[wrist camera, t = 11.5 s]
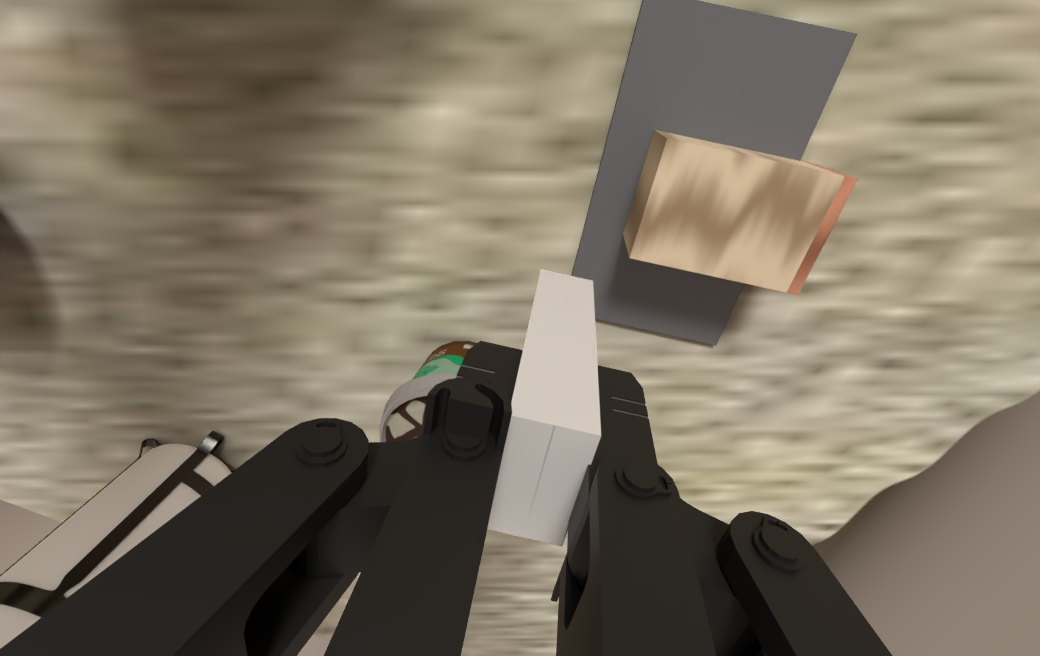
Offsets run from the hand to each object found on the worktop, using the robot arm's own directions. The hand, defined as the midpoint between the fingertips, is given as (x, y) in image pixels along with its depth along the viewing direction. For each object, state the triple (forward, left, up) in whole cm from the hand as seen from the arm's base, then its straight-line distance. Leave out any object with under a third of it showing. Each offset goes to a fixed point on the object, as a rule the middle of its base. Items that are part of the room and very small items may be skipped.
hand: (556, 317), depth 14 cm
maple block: (0, +17, -23) cm, 29 cm away
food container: (+21, -8, -27) cm, 35 cm away
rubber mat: (0, +9, -26) cm, 28 cm away
